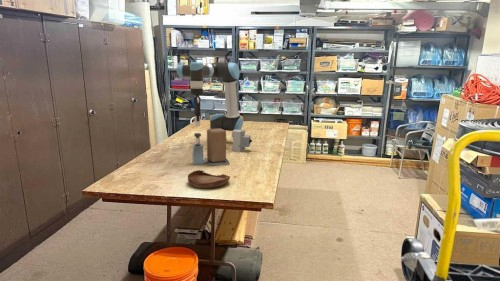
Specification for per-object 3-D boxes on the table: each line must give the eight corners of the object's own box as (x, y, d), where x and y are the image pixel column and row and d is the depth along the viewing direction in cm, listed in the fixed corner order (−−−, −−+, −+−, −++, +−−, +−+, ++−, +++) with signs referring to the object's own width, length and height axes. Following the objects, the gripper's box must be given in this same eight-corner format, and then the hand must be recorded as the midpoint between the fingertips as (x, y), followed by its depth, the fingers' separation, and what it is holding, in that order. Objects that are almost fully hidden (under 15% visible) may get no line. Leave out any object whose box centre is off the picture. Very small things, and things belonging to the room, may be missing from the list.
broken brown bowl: (231, 178, 191) (231, 169, 190) (228, 191, 171) (228, 181, 170) (192, 177, 192) (191, 168, 191) (184, 189, 172) (183, 180, 171)
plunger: (194, 147, 216) (194, 133, 214) (200, 147, 217) (200, 132, 215) (195, 149, 212) (194, 134, 210) (201, 148, 213) (201, 134, 211)
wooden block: (212, 162, 213) (211, 131, 209) (206, 158, 222) (206, 128, 218) (226, 161, 218) (226, 130, 213) (220, 157, 226) (220, 127, 222)
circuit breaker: (250, 152, 246) (250, 132, 243) (231, 151, 249) (231, 131, 246) (252, 150, 253) (252, 130, 250) (234, 148, 256) (234, 129, 253)
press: (192, 160, 223) (191, 143, 220) (224, 158, 229) (224, 141, 226) (194, 166, 210) (194, 148, 207) (229, 164, 215) (229, 146, 213)
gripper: (189, 87, 213) (190, 123, 218) (192, 88, 198) (192, 128, 203) (201, 87, 215) (201, 123, 220) (204, 88, 200) (205, 127, 205)
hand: (197, 125), depth 212 cm, fingers open, 3 cm apart
